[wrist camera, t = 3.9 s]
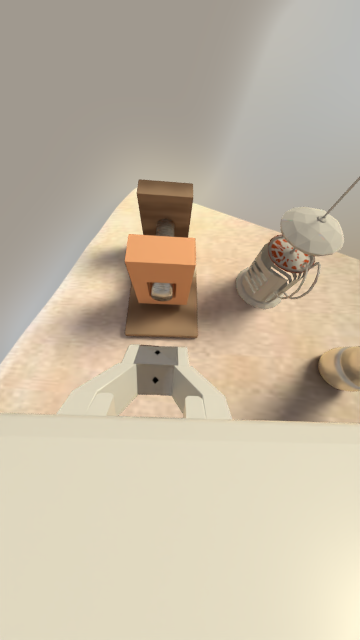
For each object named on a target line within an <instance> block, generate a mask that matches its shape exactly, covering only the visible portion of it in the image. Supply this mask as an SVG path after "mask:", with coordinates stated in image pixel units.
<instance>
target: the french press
mask: <svg viewBox="0 0 360 640" xmlns="http://www.w3.org/2000/svg"><path fill="white" fill-rule="evenodd" d="M359 180H360V177H359V178H358V179H357V180H356V181H355V182H354V183H353V184H352V185H351V186H350V188H349V189H348V190H347V191H346V192H345V193H344V194H343V195H342V196H341V197H340V199H339V200H338V201H337V202H336V203H335V204H334V205H333V206H332V207H331V208H330V209H329V211H328V212H325V211H324V210H321V209H315V208H309V207H299V208H293V209H291V210H289V211H287V212H286V213H285V214H284V215H283V217H282V219H281V233H282V235H277V236H275V237H274V238H272V239H271V240H270V242H269V243H267V244H266V245H264V247H263V248H262V250H261V251H260V253H259V254H258V256H257V257H256V258H255V259H256V260H254V262H255V263H254V262H253V263H252V264H251V266H250V267H249V268H246V269H244V270H243V271H241V272H240V273H239V275H238V277H237V278H236V288H237V291H238V294H239V295H240V297H241V298H242V299H243V300H244V301H245V302H246V303H248V304H249V305H251V306H253V307H255V308H260V309H269V308H274V307H275V306H276V305H278V304H279V303H280V302H281V300H282V299H287V298H290V299H298V298H301V297H303V296H304V295H306V294H308V293H309V292H310V291H311V290H312V288H313V287H314V285H315V284H316V282H317V279H318V277H319V274H320V267H321V264H320V263H319V262H317V263H315V264H314V262H315V256H324V255H331V254H333V253H335V252H337V251H338V250H340V249H341V248H342V245H343V242H344V236H343V232H342V229H341V227H340V224H339V222H338V221H337V220H336V219H335V218H333V217H332V216H330V215H329V212H330V211H331V210H332V209H333V208H334V207H335V206H336V205H337V204H338V203H339V201H341V199H342V198H343V197H344V196H345V195H346V194H347V193H348V192H349V191H350V190H351V189H352V188H353V187H354V185H355V184H356V183H357V182H358V181H359ZM261 252H262V253H261ZM274 264H275V265H274ZM317 264H318V273H317V275H316V278H315V281H314V283H313V284H312V286H311V287H310V289H309V290H308V291H307V292H306V293H304V294H303V295H301V296H299V297H294V298H292V296H293V295H294V294H295V293H297V292H298V291H299V289H300V288H301V286H302V284H303V283H304V281H305V279H306V276H307V273H308V271H309V269H311V268H313V267H314V266H316V265H317ZM271 266H272V267H273V268H275V269H276V270H277V271H279V272H280V273H282V274H283V275H285V276H286V277H287V278H288V280H289V284H288V285H287V281H288V280H286V279H285V278H283V277H282V276H281V275H279V274H278V273H276V272H275V271H273V270H272V269H271ZM278 267H279V268H278ZM280 268H281V269H283V270H285V271H287V272H291V273H292V274H293V277H294V280H293V281H292V279H291V276H290V275H289V274H287V273H286V272H284V271H283V270H281V269H280ZM302 272H304V273H303V276H302V277H301V278H300V276H301V273H302ZM296 273H299V276H298V279H297V280H296V277H297V275H296ZM303 277H304V278H303ZM302 278H303V280H302V282H301V284H300V286H299V288H298V289H297V290H296V291H295V292H294V293H292V294H291V295H290V296H288V295H287V294H286V293H285V292H286V291H287V290H288V289H289V288H291V287H292V286H293V285H294V284H296V283H297V282H298V281H299V280H301V279H302ZM284 294H285V295H286V297H283V296H284Z"/></svg>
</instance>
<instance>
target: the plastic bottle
mask: <svg viewBox="0 0 360 640" xmlns="http://www.w3.org/2000/svg"><path fill="white" fill-rule="evenodd" d="M318 366H319V371H320V374H321V376H322V377H323V379H324V380H325V381H326V382H327V383H328V384H330V385H331V386H333V387H334V388H336V389H340V390H345V391H350V392H354V391H360V346H356V347H338V348H333V349H331V350H329V351H327V352H325V353H324V354H323V355H322V356H321V358H320V360H319V365H318Z"/></svg>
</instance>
